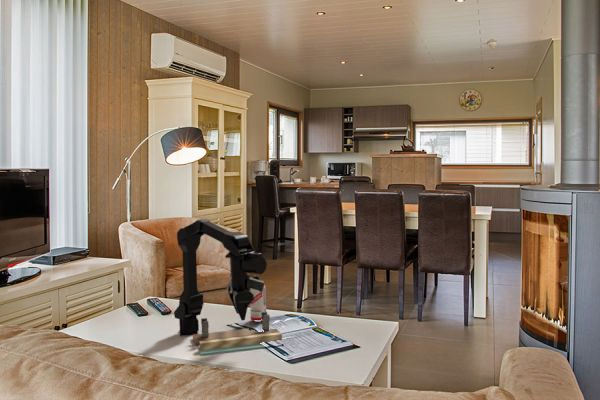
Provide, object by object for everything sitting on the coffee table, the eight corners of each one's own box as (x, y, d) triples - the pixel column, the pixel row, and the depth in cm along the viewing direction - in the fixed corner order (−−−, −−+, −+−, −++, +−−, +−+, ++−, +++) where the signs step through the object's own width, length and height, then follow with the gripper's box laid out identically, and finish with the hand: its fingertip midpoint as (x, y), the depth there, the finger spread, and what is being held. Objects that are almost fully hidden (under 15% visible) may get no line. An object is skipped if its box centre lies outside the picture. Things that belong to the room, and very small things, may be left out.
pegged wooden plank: (203, 339, 186) (202, 322, 186) (201, 335, 191) (201, 318, 190) (270, 331, 193) (269, 315, 193) (267, 327, 197) (266, 311, 197)
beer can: (264, 323, 209) (262, 283, 208) (248, 322, 210) (247, 282, 209) (268, 318, 215) (266, 279, 214) (253, 318, 216) (251, 279, 215)
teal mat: (201, 355, 174) (201, 353, 174) (198, 347, 182) (198, 345, 182) (284, 345, 181) (284, 343, 181) (277, 337, 190) (277, 336, 190)
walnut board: (195, 345, 184) (194, 341, 184) (193, 338, 192) (192, 334, 191) (279, 335, 192) (279, 331, 192) (274, 329, 200) (273, 325, 200)
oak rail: (200, 350, 177) (200, 343, 177) (199, 348, 179) (199, 341, 179) (281, 340, 185) (281, 334, 184) (280, 338, 187) (280, 332, 187)
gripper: (268, 274, 174) (269, 321, 174) (256, 265, 192) (258, 308, 192) (234, 277, 171) (236, 325, 171) (225, 267, 188) (227, 311, 189)
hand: (240, 316), depth 181 cm, fingers open, 9 cm apart
